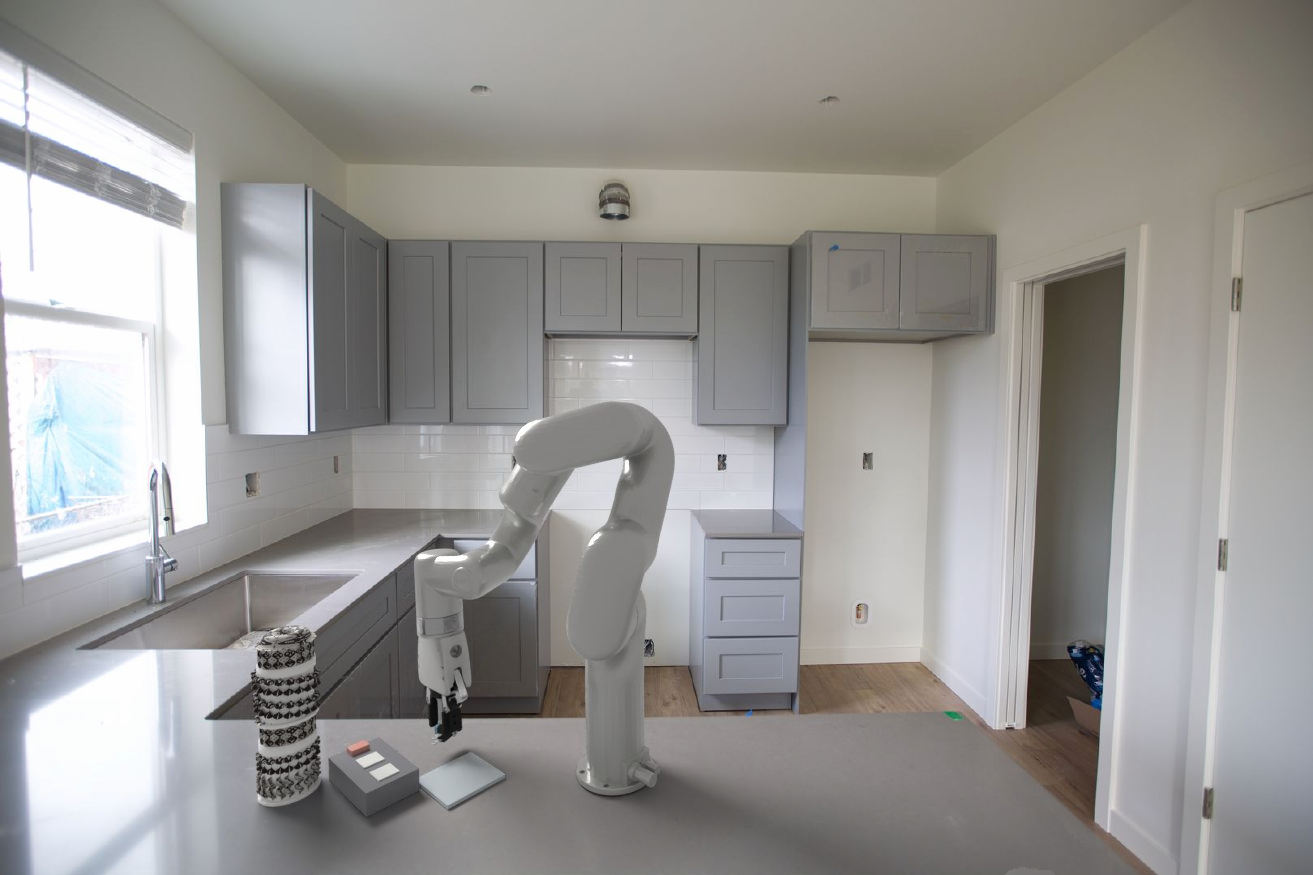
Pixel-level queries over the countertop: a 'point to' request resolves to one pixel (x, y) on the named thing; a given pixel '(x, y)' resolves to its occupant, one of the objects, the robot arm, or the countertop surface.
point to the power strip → (373, 775)
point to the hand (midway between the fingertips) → (445, 726)
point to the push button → (438, 728)
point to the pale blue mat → (459, 779)
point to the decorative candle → (286, 716)
